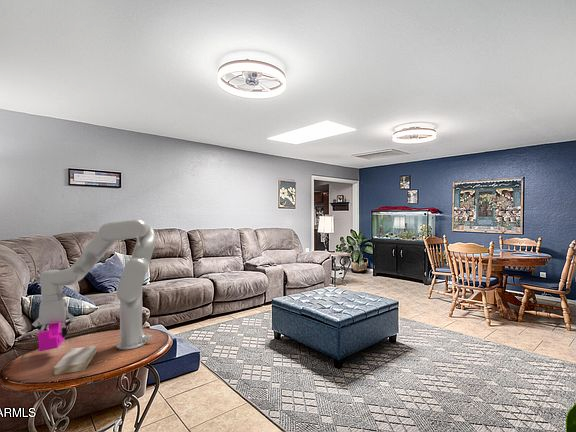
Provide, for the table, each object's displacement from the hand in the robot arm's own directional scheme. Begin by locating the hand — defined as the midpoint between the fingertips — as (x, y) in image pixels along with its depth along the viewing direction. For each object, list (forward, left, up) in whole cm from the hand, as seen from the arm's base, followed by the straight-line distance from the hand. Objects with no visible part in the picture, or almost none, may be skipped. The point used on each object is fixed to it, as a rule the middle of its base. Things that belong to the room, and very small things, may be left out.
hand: (55, 337), depth 140 cm
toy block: (0, +2, -2) cm, 3 cm away
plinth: (-12, +13, -8) cm, 19 cm away
